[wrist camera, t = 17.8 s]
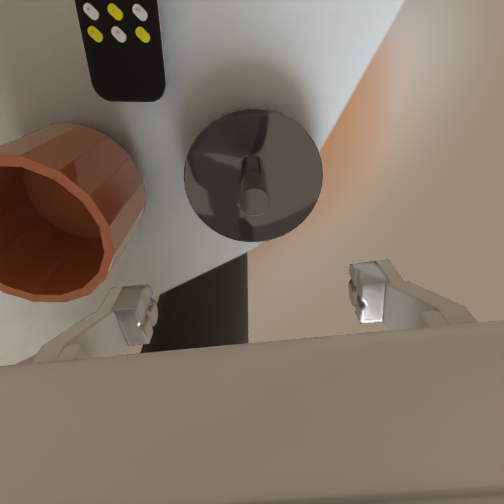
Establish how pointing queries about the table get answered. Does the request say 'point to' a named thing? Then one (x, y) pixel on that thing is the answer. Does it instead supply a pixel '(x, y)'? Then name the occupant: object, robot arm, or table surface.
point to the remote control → (124, 48)
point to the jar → (65, 211)
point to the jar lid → (253, 174)
